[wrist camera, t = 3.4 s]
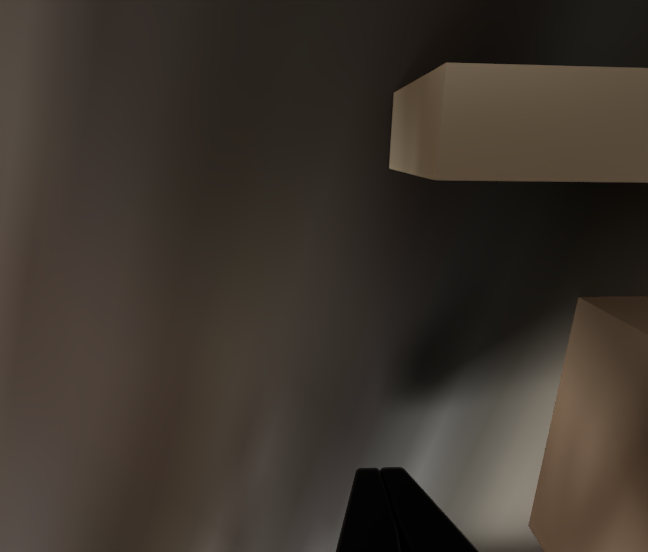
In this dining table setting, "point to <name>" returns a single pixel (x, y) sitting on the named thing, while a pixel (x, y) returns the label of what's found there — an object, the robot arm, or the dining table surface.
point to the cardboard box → (598, 435)
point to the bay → (523, 124)
